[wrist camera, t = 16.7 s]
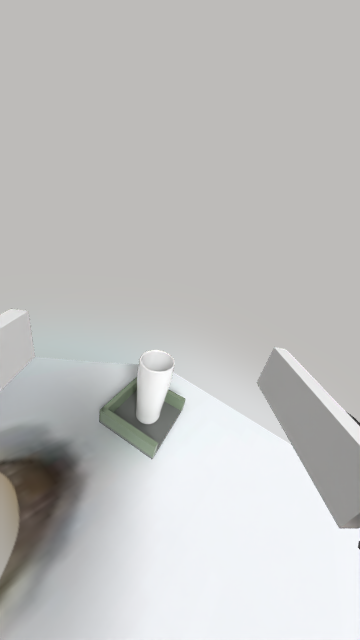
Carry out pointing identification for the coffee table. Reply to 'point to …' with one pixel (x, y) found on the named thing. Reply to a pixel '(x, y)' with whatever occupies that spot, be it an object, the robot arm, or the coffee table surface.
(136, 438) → the tray
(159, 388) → the drinking glass
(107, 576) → the coffee table surface
